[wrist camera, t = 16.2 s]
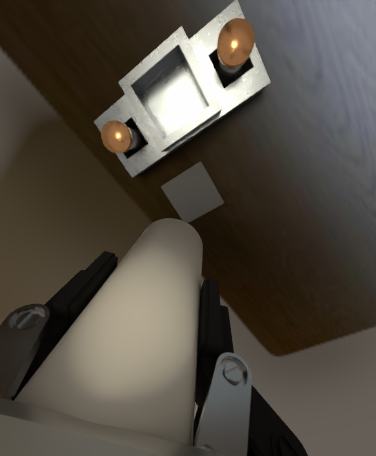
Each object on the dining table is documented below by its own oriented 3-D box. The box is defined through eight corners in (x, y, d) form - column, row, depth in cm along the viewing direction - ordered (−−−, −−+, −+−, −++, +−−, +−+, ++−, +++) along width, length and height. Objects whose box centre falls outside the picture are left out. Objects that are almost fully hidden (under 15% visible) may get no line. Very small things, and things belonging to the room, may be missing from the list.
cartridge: (210, 227, 15) (220, 590, 3) (194, 279, 16) (158, 626, 5) (146, 211, 15) (-144, 500, 3) (137, 265, 16) (-49, 573, 5)
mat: (224, 202, 34) (224, 203, 33) (185, 223, 36) (185, 224, 35) (201, 160, 31) (200, 161, 31) (161, 186, 34) (160, 186, 33)
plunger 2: (246, 76, 26) (260, 48, 19) (222, 93, 27) (227, 73, 20) (234, 48, 25) (244, 7, 18) (210, 67, 26) (210, 35, 19)
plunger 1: (153, 144, 31) (135, 142, 23) (135, 156, 32) (113, 158, 24) (139, 122, 30) (117, 113, 22) (122, 136, 31) (95, 131, 23)
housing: (232, 21, 25) (243, -34, 17) (262, 91, 27) (282, 70, 20) (107, 124, 31) (75, 117, 23) (140, 174, 33) (121, 181, 26)
